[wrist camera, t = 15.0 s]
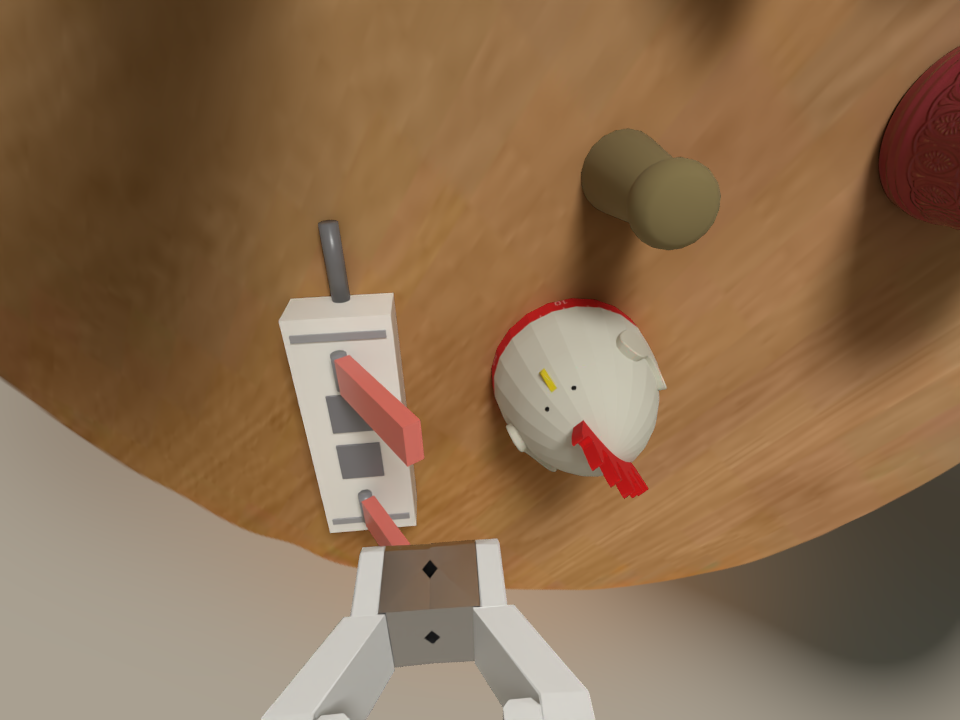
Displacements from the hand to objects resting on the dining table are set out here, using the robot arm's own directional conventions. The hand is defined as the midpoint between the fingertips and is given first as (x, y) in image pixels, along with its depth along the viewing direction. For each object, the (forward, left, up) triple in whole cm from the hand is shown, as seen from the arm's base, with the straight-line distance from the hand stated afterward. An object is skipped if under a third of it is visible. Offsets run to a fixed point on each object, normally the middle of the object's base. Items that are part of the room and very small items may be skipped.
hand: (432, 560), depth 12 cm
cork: (+8, +12, -32) cm, 35 cm away
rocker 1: (+4, -12, -26) cm, 29 cm away
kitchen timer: (+19, -1, -32) cm, 37 cm away
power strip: (+7, -15, -31) cm, 35 cm away
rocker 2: (+14, -21, -26) cm, 37 cm away
